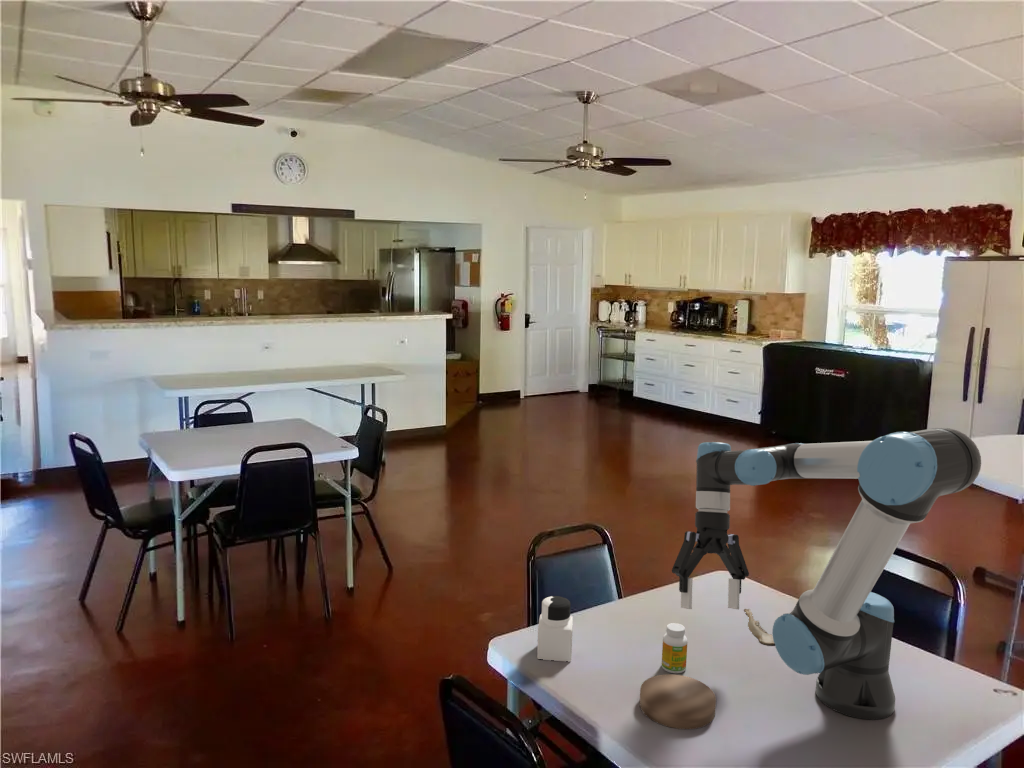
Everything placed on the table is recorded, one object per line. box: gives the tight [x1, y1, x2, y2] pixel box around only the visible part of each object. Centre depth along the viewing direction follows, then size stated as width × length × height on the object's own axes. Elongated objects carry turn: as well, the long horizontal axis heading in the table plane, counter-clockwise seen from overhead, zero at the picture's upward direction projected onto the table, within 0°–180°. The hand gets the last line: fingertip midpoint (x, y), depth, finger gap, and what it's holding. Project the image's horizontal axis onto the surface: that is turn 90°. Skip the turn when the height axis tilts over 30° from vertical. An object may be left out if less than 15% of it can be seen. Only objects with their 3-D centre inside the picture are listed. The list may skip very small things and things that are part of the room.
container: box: [536, 595, 574, 663], centre depth 176 cm, size 8×8×13 cm
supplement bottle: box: [661, 622, 689, 674], centre depth 171 cm, size 5×5×10 cm
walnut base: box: [639, 673, 717, 730], centre depth 156 cm, size 15×15×3 cm
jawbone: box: [743, 608, 775, 646], centre depth 191 cm, size 9×20×2 cm, turn 23°
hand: (710, 608), depth 169 cm, fingers open, 13 cm apart
